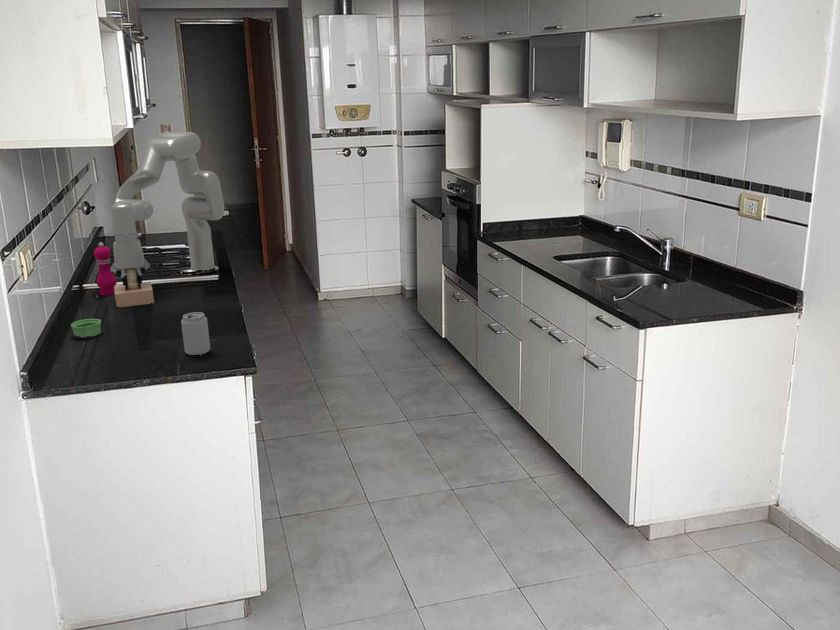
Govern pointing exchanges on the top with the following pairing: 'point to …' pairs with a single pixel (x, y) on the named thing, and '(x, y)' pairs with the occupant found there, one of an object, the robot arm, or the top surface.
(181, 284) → the top surface
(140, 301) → the socket
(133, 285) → the peg
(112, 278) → the pepper mill
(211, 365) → the top surface
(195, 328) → the can
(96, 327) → the ramekin
